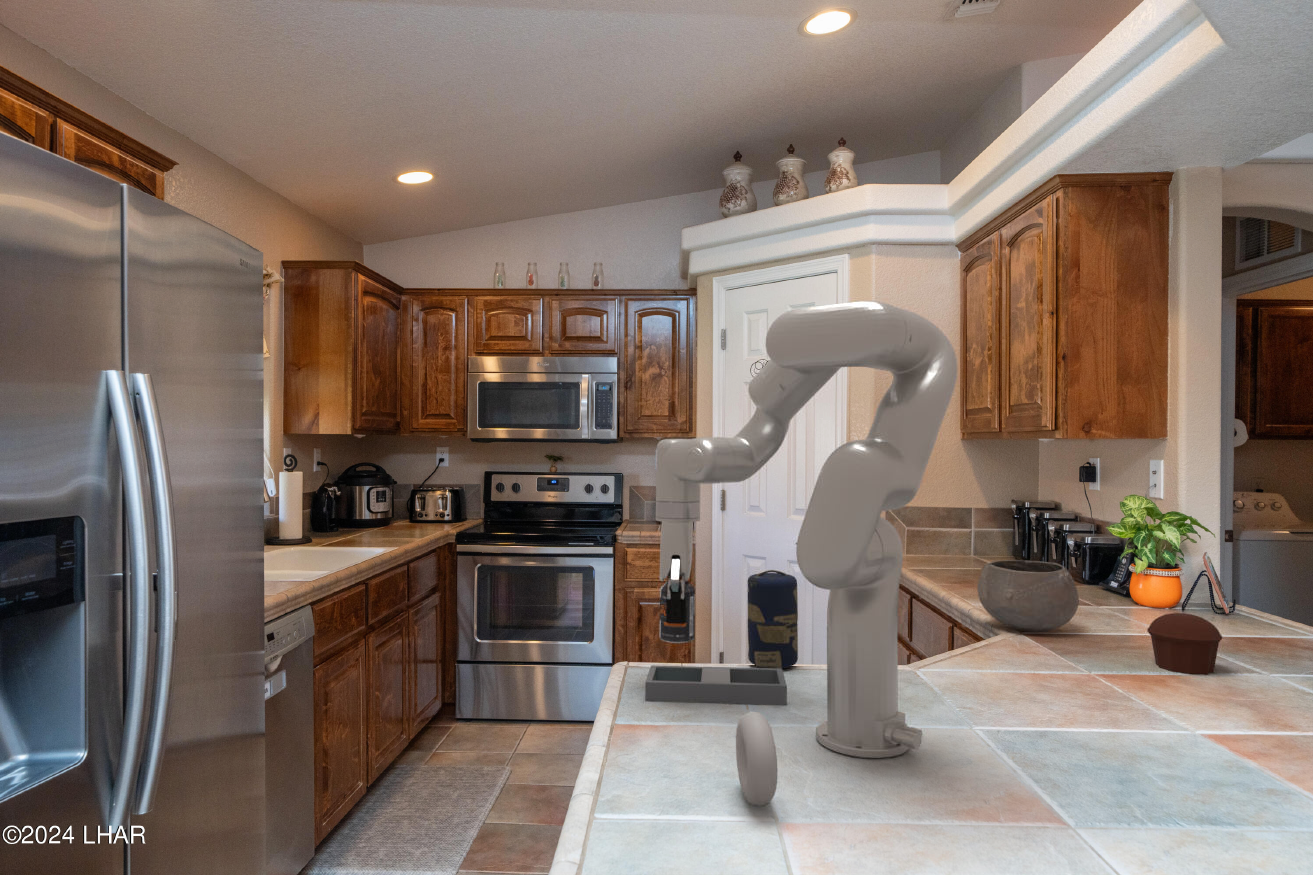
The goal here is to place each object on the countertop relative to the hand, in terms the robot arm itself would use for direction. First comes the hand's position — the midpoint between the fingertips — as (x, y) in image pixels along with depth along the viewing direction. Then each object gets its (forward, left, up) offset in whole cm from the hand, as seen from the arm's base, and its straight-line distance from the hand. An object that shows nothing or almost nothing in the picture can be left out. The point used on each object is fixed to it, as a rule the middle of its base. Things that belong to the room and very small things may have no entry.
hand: (677, 617), depth 128 cm
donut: (-36, +20, -13) cm, 43 cm away
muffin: (-50, -83, -13) cm, 98 cm away
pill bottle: (0, 0, -4) cm, 4 cm away
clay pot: (-16, -94, -13) cm, 96 cm away
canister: (+1, -25, -13) cm, 28 cm away
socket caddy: (-5, -5, -12) cm, 14 cm away
